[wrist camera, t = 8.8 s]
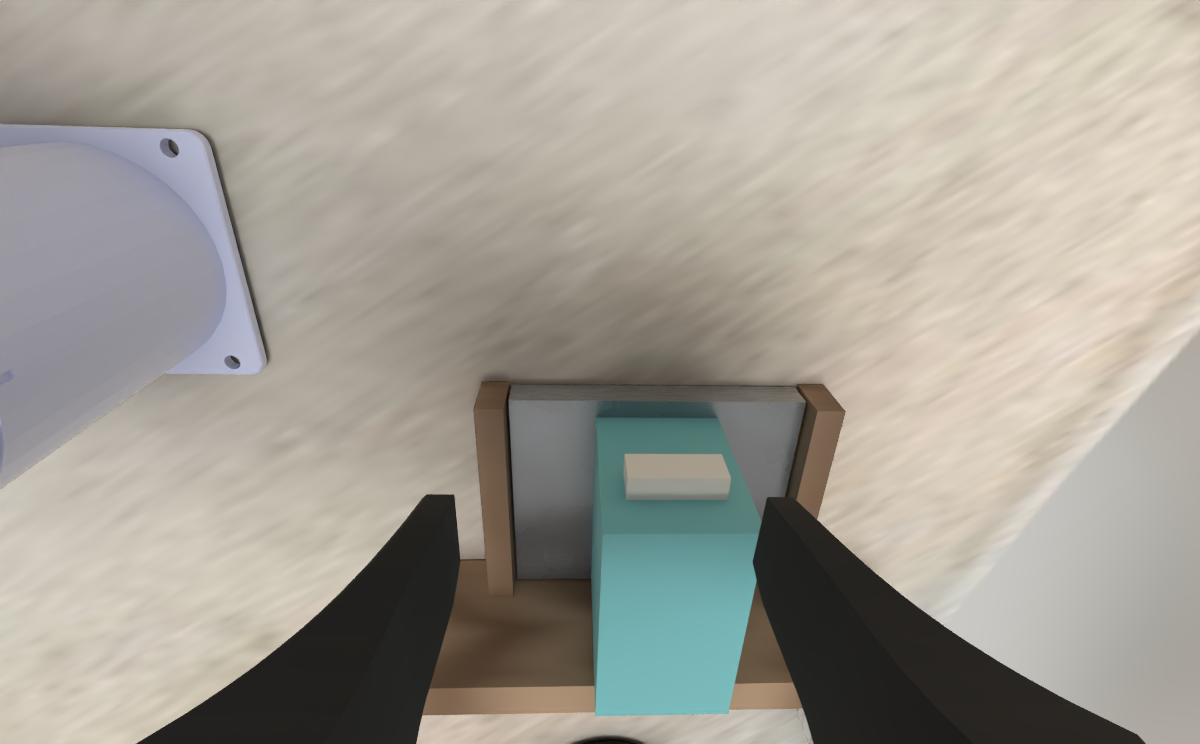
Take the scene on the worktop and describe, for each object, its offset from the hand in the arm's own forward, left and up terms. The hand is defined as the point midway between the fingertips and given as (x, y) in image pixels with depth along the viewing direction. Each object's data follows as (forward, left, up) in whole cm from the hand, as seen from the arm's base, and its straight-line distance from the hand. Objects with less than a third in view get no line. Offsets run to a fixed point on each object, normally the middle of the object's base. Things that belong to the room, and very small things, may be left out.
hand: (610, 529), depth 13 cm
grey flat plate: (+2, -5, -9) cm, 11 cm away
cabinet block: (+2, -6, -8) cm, 10 cm away
